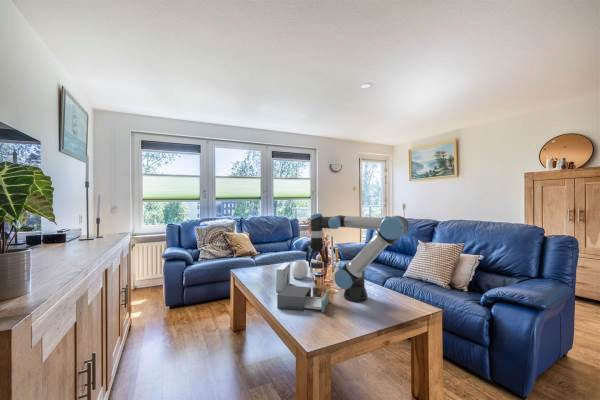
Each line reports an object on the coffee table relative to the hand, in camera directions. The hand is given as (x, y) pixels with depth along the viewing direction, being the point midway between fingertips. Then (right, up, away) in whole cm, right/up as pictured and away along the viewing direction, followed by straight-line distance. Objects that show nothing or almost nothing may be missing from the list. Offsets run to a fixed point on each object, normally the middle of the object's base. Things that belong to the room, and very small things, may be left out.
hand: (317, 272), depth 172 cm
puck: (0, +3, 0) cm, 3 cm away
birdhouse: (-3, -16, -14) cm, 21 cm away
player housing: (-14, -17, -10) cm, 24 cm away
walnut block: (0, -16, 0) cm, 16 cm away
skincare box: (-23, -17, +21) cm, 36 cm away
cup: (-11, -17, +45) cm, 49 cm away
